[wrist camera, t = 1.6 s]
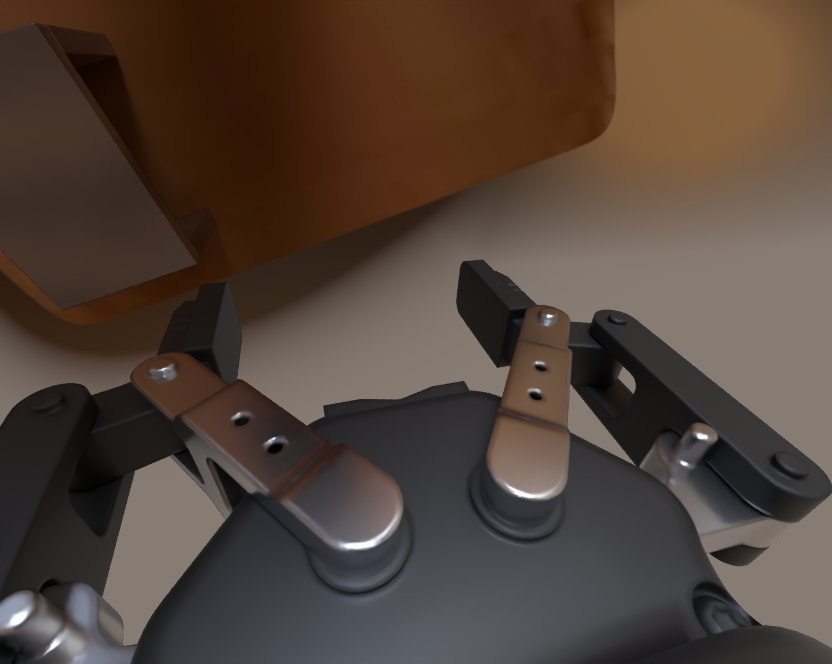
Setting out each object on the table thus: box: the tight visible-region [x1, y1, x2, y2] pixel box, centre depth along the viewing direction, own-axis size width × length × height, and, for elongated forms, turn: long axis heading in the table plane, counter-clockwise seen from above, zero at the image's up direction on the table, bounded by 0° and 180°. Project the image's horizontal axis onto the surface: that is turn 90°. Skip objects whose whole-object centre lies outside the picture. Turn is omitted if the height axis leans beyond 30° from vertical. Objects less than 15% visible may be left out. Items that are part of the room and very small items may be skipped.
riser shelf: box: [0, 23, 215, 311], centre depth 25 cm, size 13×9×9 cm
